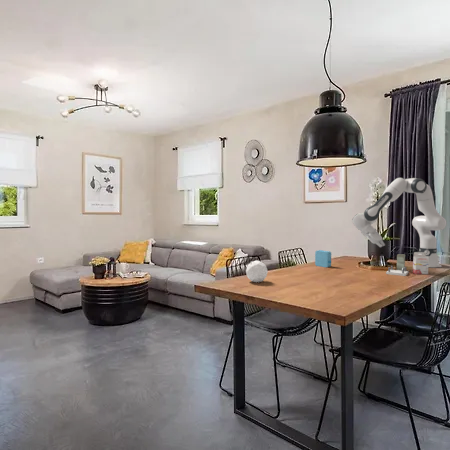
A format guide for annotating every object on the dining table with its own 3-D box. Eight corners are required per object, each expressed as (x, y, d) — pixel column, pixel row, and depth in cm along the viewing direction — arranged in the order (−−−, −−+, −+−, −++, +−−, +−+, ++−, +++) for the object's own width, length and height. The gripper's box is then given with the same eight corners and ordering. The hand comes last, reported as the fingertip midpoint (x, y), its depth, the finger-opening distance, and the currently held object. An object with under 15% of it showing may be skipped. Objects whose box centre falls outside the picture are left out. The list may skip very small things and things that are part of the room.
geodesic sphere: (250, 276, 217) (261, 256, 221) (236, 272, 229) (247, 254, 233) (265, 288, 224) (275, 269, 228) (251, 284, 235) (261, 266, 239)
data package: (331, 267, 282) (331, 251, 282) (327, 267, 280) (327, 252, 279) (318, 265, 292) (318, 250, 291) (314, 265, 289) (315, 250, 289)
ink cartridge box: (415, 274, 254) (416, 252, 253) (412, 272, 259) (413, 251, 258) (428, 274, 253) (429, 252, 252) (425, 273, 258) (425, 252, 257)
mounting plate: (389, 271, 264) (389, 269, 263) (408, 273, 257) (408, 271, 256) (386, 274, 254) (386, 271, 254) (405, 275, 247) (405, 273, 247)
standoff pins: (391, 269, 262) (391, 265, 262) (406, 271, 256) (406, 266, 256) (388, 271, 254) (388, 267, 254) (403, 273, 248) (404, 268, 248)
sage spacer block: (397, 270, 268) (398, 253, 267) (404, 271, 265) (405, 254, 265) (396, 271, 264) (397, 254, 264) (403, 271, 262) (403, 255, 261)
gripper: (368, 230, 266) (383, 244, 261) (375, 228, 283) (389, 242, 278) (362, 236, 269) (376, 250, 264) (369, 234, 286) (382, 247, 281)
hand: (382, 246), depth 271 cm, fingers open, 8 cm apart
